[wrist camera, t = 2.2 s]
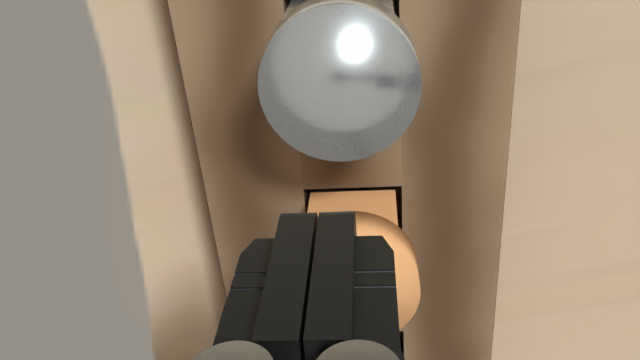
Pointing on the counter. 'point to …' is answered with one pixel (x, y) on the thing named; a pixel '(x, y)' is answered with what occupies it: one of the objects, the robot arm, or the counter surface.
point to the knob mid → (374, 220)
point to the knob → (340, 78)
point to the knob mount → (377, 170)
